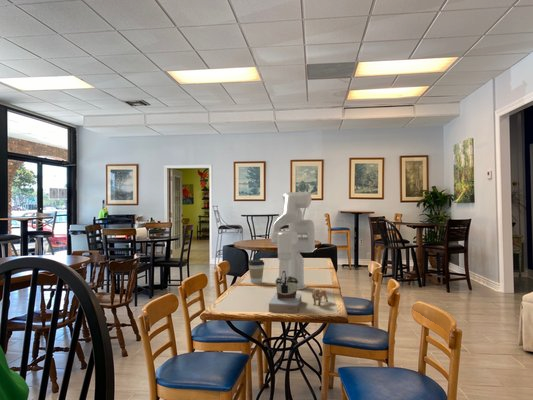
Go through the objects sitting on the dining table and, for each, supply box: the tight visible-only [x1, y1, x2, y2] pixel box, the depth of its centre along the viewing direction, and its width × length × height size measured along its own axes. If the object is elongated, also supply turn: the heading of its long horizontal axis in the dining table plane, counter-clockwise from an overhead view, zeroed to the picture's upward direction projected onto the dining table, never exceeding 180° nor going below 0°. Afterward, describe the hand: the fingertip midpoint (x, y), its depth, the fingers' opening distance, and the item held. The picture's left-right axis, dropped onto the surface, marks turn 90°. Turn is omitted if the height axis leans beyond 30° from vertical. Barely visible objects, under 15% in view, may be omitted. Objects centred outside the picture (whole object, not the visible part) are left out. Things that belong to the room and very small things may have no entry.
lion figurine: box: [312, 288, 329, 307], centre depth 180 cm, size 15×5×9 cm, turn 152°
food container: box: [274, 276, 299, 299], centre depth 178 cm, size 12×6×10 cm, turn 97°
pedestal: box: [268, 292, 302, 314], centre depth 177 cm, size 20×14×4 cm
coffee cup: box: [247, 258, 265, 285], centre depth 232 cm, size 11×11×15 cm
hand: (285, 291), depth 177 cm, fingers open, 6 cm apart
